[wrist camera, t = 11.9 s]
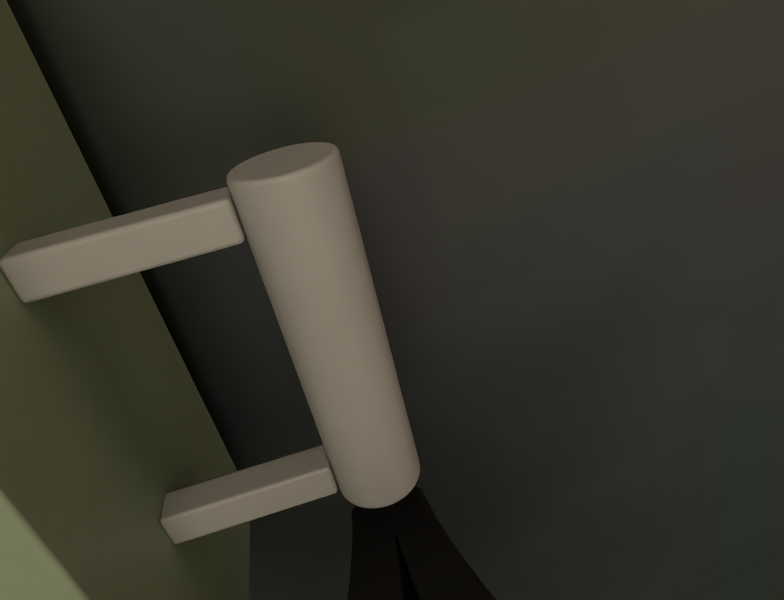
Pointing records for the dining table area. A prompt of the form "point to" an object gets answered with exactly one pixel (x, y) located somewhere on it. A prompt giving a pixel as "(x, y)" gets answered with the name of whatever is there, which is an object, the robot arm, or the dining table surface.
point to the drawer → (168, 365)
